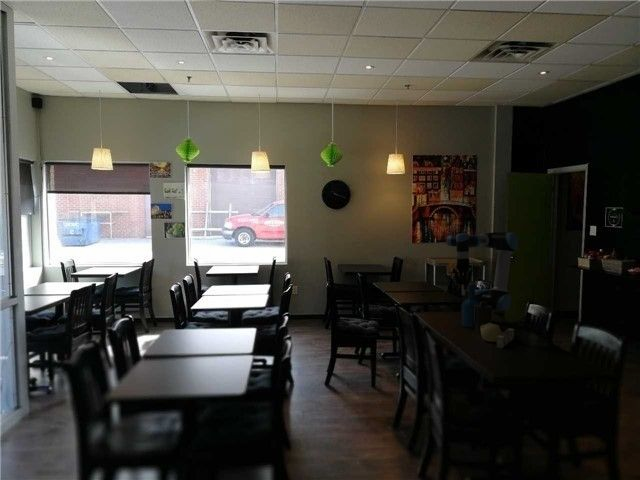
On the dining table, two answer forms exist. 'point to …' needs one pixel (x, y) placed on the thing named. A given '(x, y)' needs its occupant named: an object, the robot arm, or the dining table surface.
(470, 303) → the wine bottle
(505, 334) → the board
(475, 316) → the canister
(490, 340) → the sculpture
